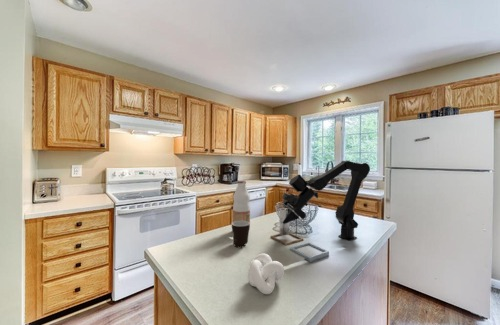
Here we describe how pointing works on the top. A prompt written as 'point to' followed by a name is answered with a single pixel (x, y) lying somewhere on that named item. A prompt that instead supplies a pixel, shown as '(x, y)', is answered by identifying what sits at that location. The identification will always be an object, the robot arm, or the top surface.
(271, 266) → the white knot sculpture
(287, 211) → the scoop cup
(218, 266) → the top surface
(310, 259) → the grey tray
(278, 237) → the walnut tray
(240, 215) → the fruit juice
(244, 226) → the coffee mug
